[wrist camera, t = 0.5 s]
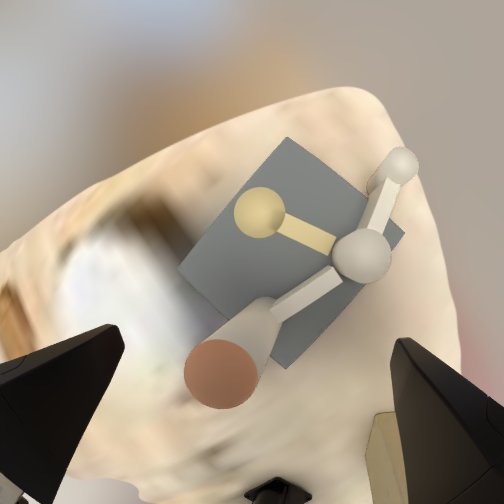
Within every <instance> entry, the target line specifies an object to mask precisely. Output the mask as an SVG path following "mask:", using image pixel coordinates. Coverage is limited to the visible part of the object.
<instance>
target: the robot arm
mask: <svg viewBox="0 0 504 504" xmlns="http://www.w3.org/2000/svg"><path fill="white" fill-rule="evenodd" d="M124 349H125V344H124V341H123V339H122V336H121V333H120V330H119V328H118V327H117V326H116V325H112V324H105V325H103V326H100V327H97V328H95V329H92V330H90V331H87V332H85V333H82V334H79V335H77V336H74V337H72V338H69V339H67V340H64V341H61V342H59V343H56V344H54V345H51V346H48V347H46V348H43V349H40V350H38V351H35V352H32V353H30V354H28V355H24V356H22V357H19V358H16V359H13V360H11V361H8V362H4V363H1V364H0V504H29V503H28V501H27V500H26V499H25V498H24V497H23V496H22V495H23V494H24V492H25V493H26V494H28V495H29V496H30V497H32V498H33V499H35V500H36V501H38V502H39V503H40V504H52V503H53V501H54V499H55V496H56V494H57V491H58V489H59V487H60V484H61V482H62V480H63V477H64V475H65V473H66V471H67V468H68V466H69V463H70V461H71V459H72V457H73V455H74V453H75V451H76V448H77V446H78V444H79V442H80V440H81V438H82V436H83V434H84V432H85V430H86V428H87V426H88V424H89V422H90V420H91V418H92V416H93V414H94V412H95V410H96V408H97V407H98V405H99V403H100V401H101V399H102V397H103V395H104V393H105V392H106V390H107V388H108V386H109V384H110V382H111V380H112V377H113V375H114V373H115V370H116V368H117V366H118V363H119V361H120V359H121V357H122V354H123V352H124ZM390 370H391V378H392V387H393V397H394V407H395V414H396V419H397V424H398V429H399V435H400V441H401V447H402V453H403V460H404V467H405V475H406V484H407V494H408V504H504V407H503V406H501V405H500V404H499V403H497V402H496V401H494V400H493V399H492V398H491V397H490V396H489V397H487V394H485V393H484V392H483V391H482V390H480V389H479V388H478V387H476V386H475V385H474V384H472V383H471V382H470V381H468V380H467V379H466V378H464V377H463V376H462V375H460V374H459V373H458V372H456V371H455V370H454V369H452V368H451V367H450V366H448V365H447V364H446V363H444V362H443V361H442V360H440V359H439V358H438V357H436V356H435V355H433V354H432V353H431V352H429V351H428V350H427V349H425V348H424V347H422V346H421V345H420V344H418V343H417V342H416V341H414V340H413V339H411V338H409V337H407V338H398V339H397V340H396V342H395V345H394V349H393V353H392V356H391V360H390ZM244 497H245V498H247V499H249V500H250V501H252V504H304V503H306V502H308V501H310V500H311V499H312V495H310V494H308V493H306V492H304V491H302V490H300V489H298V488H297V487H295V486H293V485H291V484H289V483H288V482H286V481H284V480H282V479H281V478H274V479H272V480H270V481H268V482H266V483H265V484H263V485H261V486H259V487H257V488H255V489H253V490H251V491H249V492H247V493H245V495H244Z"/></svg>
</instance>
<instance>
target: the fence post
mask: <svg viewBox="0 0 504 504" xmlns="http://www.w3.org/2000/svg"><path fill="white" fill-rule="evenodd" d="M342 282H343V281H342V280H341V278H340V277H339V275H338V274H337V272H336V271H335V269H334V268H333V267H331V266H329V265H327V266H326V267H325V268H323V269H322V270H320V271H319V272H317V273H316V274H314V275H313V276H311V277H310V278H309V279H307V280H306V281H304V282H303V283H301V284H300V285H298V286H297V287H295V288H294V289H292V290H291V291H289V292H288V293H286V294H285V295H283V296H282V297H280V298H278V299H277V300H276V299H274V298H272V297H260V298H258V299H256V300H255V301H253V302H252V303H251V304H250V305H248V306H247V307H246V308H245V309H243V310H242V311H241V312H240V313H238V314H237V315H236V316H235V317H233V318H232V319H231V320H230V321H228V322H227V323H226V324H224V325H223V326H222V327H221V328H219V329H218V330H217V331H216V332H214V333H213V334H212V335H210V336H209V337H208V338H207V339H205V340H204V341H203V342H201V343H200V344H199V345H197V346H196V347H195V348H194V349H193V350H192V351H191V353H190V354H189V356H188V358H187V360H186V363H185V367H184V379H185V383H186V385H187V388H188V389H189V391H190V393H191V394H192V395H193V397H194V398H195V399H197V400H198V401H199V402H201V403H202V404H204V405H206V406H208V407H212V408H216V409H228V408H233V407H236V406H238V405H240V404H242V403H244V402H245V401H246V400H247V399H248V398H249V397H250V396H251V395H252V394H253V392H254V390H255V388H256V386H257V384H258V382H259V379H260V377H261V374H262V372H263V370H264V367H265V365H266V363H267V360H268V358H269V355H270V353H271V350H272V348H273V346H274V343H275V341H276V338H277V336H278V333H279V330H280V328H281V325H282V323H283V321H284V320H286V319H288V318H289V317H291V316H292V315H294V314H295V313H297V312H299V311H300V310H302V309H303V308H305V307H306V306H308V305H309V304H311V303H312V302H314V301H315V300H317V299H318V298H320V297H321V296H323V295H324V294H326V293H327V292H329V291H330V290H332V289H333V288H335V287H336V286H338V285H339V284H340V283H342Z"/></svg>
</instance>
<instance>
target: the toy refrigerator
mask: <svg viewBox="0 0 504 504" xmlns="http://www.w3.org/2000/svg"><path fill="white" fill-rule="evenodd" d="M365 459H366V465H367V470H368V475H369V481H370V487H371V492H372V499H373V504H408V494H407V484H406V475H405V467H404V460H403V453H402V447H401V441H400V435H399V429H398V424H397V419H396V414H395V412H390V413H381V414H377V415H376V416H375V419H374V424H373V428H372V432H371V435H370V439H369V443H368V447H367V450H366V454H365Z"/></svg>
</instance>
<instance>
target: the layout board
mask: <svg viewBox="0 0 504 504" xmlns="http://www.w3.org/2000/svg"><path fill="white" fill-rule="evenodd" d="M368 200H369V199H367V198H366V197H365V196H364V195H363V194H362V193H360V192H359V191H358V190H357V189H356V188H354V187H353V186H352V185H351V184H350V183H348V182H347V181H346V180H345V179H343V178H342V177H341V176H340V175H338V174H337V173H336V172H335V171H333V170H332V169H331V168H330V167H328V166H327V165H326V164H324V163H323V162H322V161H320V160H319V159H318V158H316V157H315V156H314V155H312V154H311V153H310V152H308V151H307V150H306V149H304V148H303V147H301V146H300V145H299V144H297V143H296V142H294V141H293V140H291V139H290V138H289V137H286V138H285V139H284V140H283V141H282V142H281V144H280V145H279V146H278V147H277V148H276V149H275V150H274V151H273V153H272V154H271V155H270V156H269V157H268V158H267V159H266V161H265V162H264V163H263V164H262V165H261V166H260V167H259V169H258V170H257V171H256V172H255V173H254V174H253V176H252V177H251V178H250V179H249V180H248V181H247V183H246V184H245V185H244V186H243V187H242V189H241V190H240V191H239V192H238V193H237V194H236V196H235V197H234V198H233V199H232V200H231V202H230V203H229V204H228V205H227V207H226V208H225V209H224V210H223V211H222V213H221V214H220V215H219V216H218V218H217V219H216V220H215V221H214V222H213V224H212V225H211V226H210V227H209V229H208V230H207V231H206V232H205V234H204V235H203V236H202V237H201V239H200V240H199V241H198V243H197V244H196V245H195V246H194V248H193V249H192V250H191V251H190V253H189V254H188V255H187V257H186V258H185V259H184V260H183V262H182V263H181V264H180V266H179V267H178V268H177V271H178V272H179V273H180V274H181V275H182V276H183V277H184V278H185V279H186V280H187V281H188V282H189V283H190V284H191V285H192V286H193V287H194V288H195V289H196V290H197V291H198V292H199V293H200V294H201V295H202V296H203V297H204V298H205V299H207V300H208V301H209V302H210V303H211V304H212V305H213V306H214V307H215V308H216V309H217V310H218V311H219V312H220V313H221V314H223V315H224V316H225V317H226V318H227V319H228V320H229V321H230V320H231V319H232V318H233V317H235V316H236V315H237V314H238V313H240V312H241V311H242V310H243V309H245V308H246V307H247V306H248V305H250V304H251V303H252V302H253V301H255V300H256V299H258V298H260V297H272V298H274V299H276V300H277V299H278V298H280V297H282V296H283V295H285V294H286V293H288V292H289V291H291V290H292V289H294V288H295V287H297V286H298V285H300V284H301V283H303V282H304V281H306V280H307V279H309V278H310V277H311V276H313V275H314V274H316V273H317V272H319V271H320V270H322V269H323V268H325V267H326V266H327V265H329V266H331V267H333V268H334V269H335V267H334V265H333V262H332V250H333V248H334V246H335V244H336V243H337V242H338V241H339V240H340V239H341V238H343V237H345V236H347V235H348V234H350V233H352V232H354V231H356V229H357V227H358V225H359V222H360V220H361V217H362V215H363V213H364V210H365V208H366V205H367V203H368ZM404 234H405V232H404V231H403V230H402V229H400V228H399V227H398V226H397V225H396V224H395V223H394V222H393V221H392V220H391V219H390V218H389V219H388V221H387V224H386V226H385V229H384V231H383V234H382V235H383V236H384V237H385V238H386V240H387V241H388V243H389V245H390V249H391V251H392V250H393V249H394V247H395V246H396V245H397V243H398V242H399V241H400V239H401V238H402V236H403V235H404ZM335 271H336V272H337V274H338V275H339V277H340V278H341V280H342V281H343V282H342V283H340V284H339V285H338V286H336V287H335V288H333V289H332V290H330V291H329V292H327V293H326V294H324V295H323V296H321V297H320V298H318V299H317V300H315V301H314V302H312V303H311V304H309V305H308V306H306V307H305V308H303V309H302V310H300V311H299V312H297V313H295V314H294V315H292V316H291V317H289V318H288V319H286V320H284V321H283V323H282V325H281V328H280V330H279V333H278V336H277V338H276V341H275V343H274V346H273V348H272V350H271V353H270V355H269V356H270V357H271V358H272V359H274V360H275V361H276V362H277V363H278V364H280V365H281V366H282V367H283V368H284V369H287V368H288V367H289V366H290V365H291V364H292V363H293V362H294V361H295V360H296V359H297V358H298V357H299V356H300V355H301V354H302V353H303V352H304V351H305V350H306V349H307V348H308V347H309V346H310V345H311V344H312V343H313V342H314V341H315V340H316V339H317V338H318V337H319V336H320V335H321V334H322V333H323V332H324V331H325V329H326V328H327V327H328V326H329V325H330V324H331V323H332V322H333V321H334V320H335V319H336V318H337V316H338V315H339V314H340V313H341V312H342V311H343V310H344V309H345V307H346V306H347V305H348V304H349V303H350V302H351V301H352V299H353V298H354V297H355V296H356V295H357V294H358V292H359V291H360V290H361V289H362V288H363V287H364V285H365V284H364V283H358V282H356V281H354V280H352V279H350V278H348V277H346V276H344V275H342V274H340V273H339V272H338V271H337V270H336V269H335Z"/></svg>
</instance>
